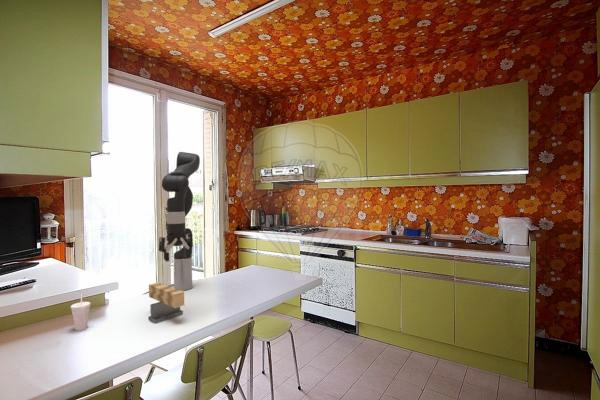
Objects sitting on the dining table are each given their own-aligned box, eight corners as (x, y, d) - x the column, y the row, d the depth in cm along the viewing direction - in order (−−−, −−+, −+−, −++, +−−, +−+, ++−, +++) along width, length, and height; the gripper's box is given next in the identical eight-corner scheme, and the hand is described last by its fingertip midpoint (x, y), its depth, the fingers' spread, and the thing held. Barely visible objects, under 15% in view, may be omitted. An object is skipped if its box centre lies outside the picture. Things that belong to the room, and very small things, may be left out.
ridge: (148, 320, 127) (148, 303, 127) (175, 311, 137) (175, 295, 137) (155, 323, 124) (155, 306, 124) (182, 314, 133) (182, 298, 133)
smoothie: (78, 333, 116) (77, 297, 115) (67, 331, 118) (66, 295, 118) (95, 326, 122) (94, 291, 121) (83, 324, 124) (82, 290, 124)
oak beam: (149, 296, 135) (148, 284, 135) (157, 294, 138) (157, 282, 138) (175, 308, 122) (174, 294, 122) (184, 305, 125) (184, 291, 125)
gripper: (186, 220, 139) (187, 255, 140) (155, 222, 128) (156, 261, 129) (195, 221, 134) (196, 257, 135) (164, 224, 123) (164, 263, 124)
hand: (176, 259), depth 132 cm, fingers open, 8 cm apart
